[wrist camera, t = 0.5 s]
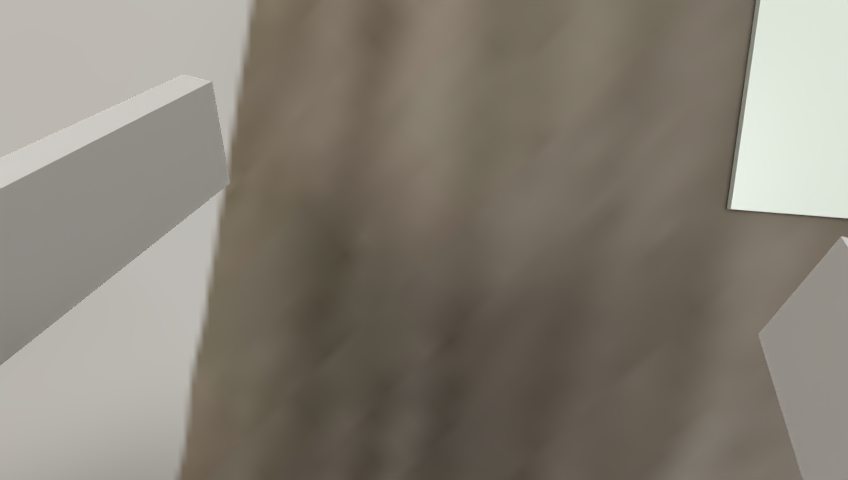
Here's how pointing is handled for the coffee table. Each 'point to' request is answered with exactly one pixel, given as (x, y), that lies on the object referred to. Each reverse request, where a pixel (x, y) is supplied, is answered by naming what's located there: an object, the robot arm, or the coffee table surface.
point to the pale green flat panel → (794, 111)
